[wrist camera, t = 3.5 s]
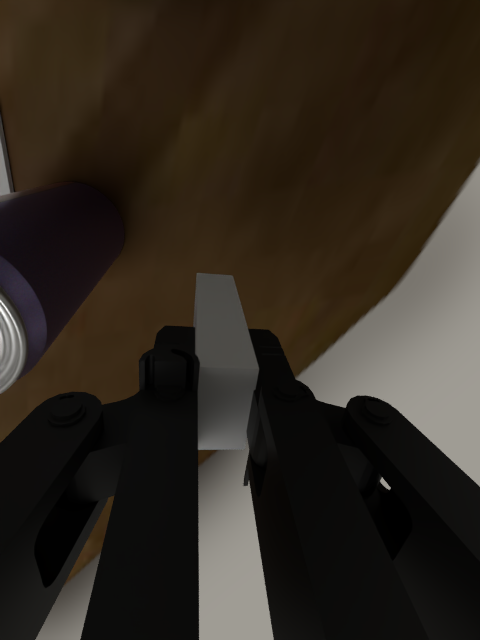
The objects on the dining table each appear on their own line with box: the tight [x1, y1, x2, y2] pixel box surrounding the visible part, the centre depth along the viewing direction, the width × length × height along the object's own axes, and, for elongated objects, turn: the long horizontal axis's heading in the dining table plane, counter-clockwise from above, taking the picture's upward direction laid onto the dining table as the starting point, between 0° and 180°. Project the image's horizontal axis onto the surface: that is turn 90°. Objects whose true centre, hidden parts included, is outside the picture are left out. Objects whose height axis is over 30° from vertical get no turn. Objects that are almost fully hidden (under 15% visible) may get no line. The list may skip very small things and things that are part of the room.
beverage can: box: [0, 182, 124, 394], centre depth 16 cm, size 6×6×15 cm
